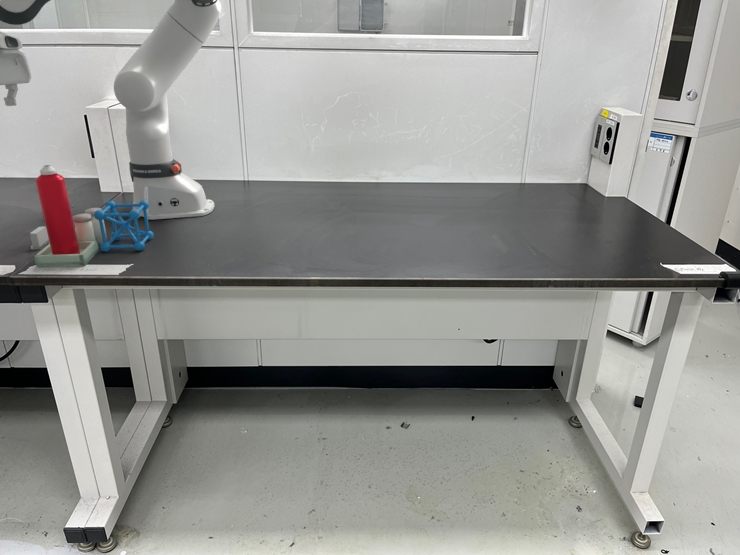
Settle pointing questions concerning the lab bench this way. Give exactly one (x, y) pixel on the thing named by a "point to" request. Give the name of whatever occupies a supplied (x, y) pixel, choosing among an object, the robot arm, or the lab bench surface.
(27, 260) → the lab bench surface
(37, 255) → the assorted small pieces
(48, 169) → the bottle
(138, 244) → the molecular structure
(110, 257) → the lab bench surface
